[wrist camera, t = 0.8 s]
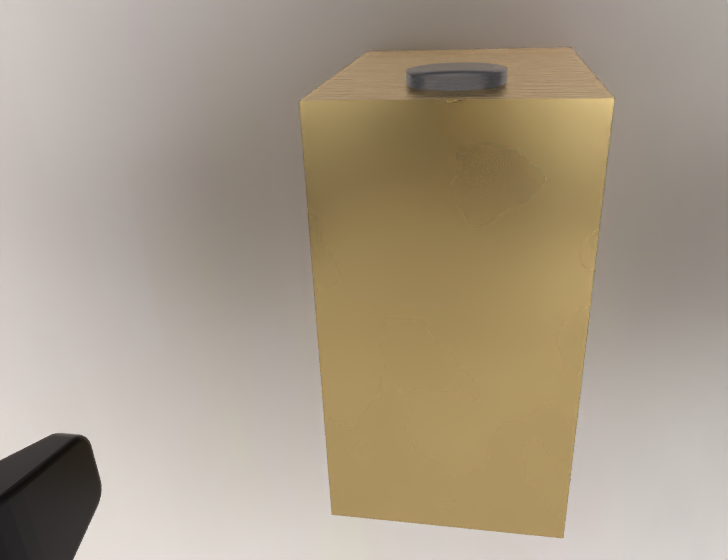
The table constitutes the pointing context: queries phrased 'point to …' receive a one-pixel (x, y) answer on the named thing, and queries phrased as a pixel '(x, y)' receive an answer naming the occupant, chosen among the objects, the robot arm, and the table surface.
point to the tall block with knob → (454, 279)
